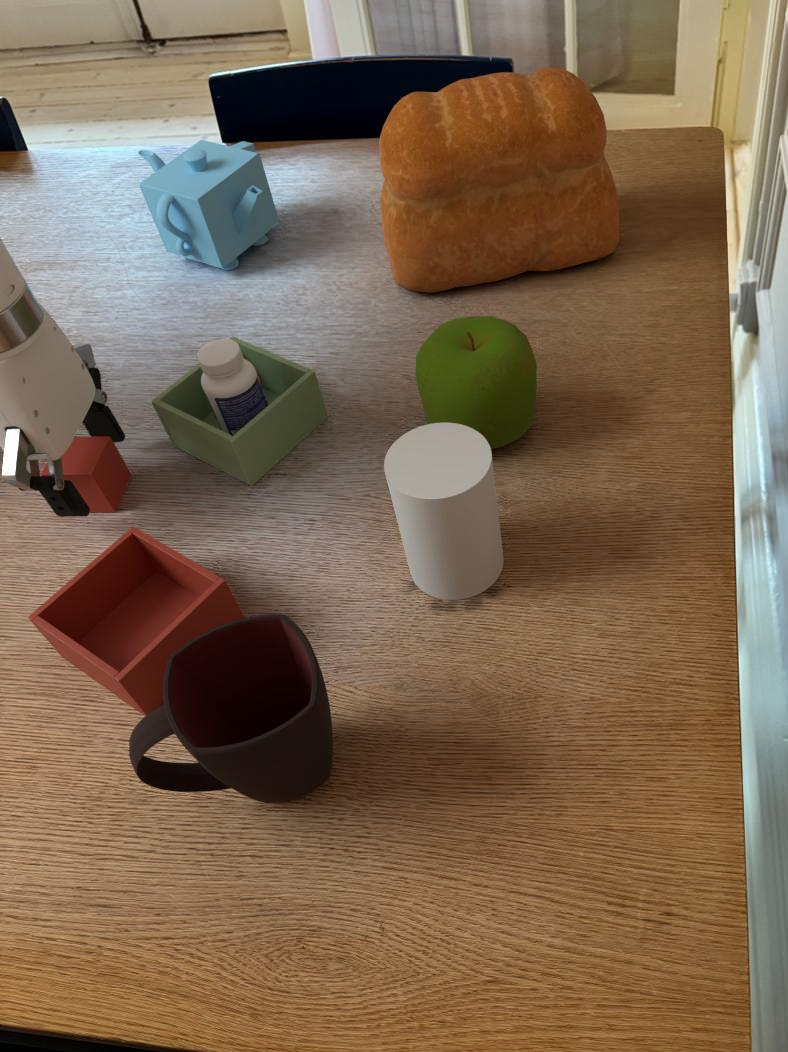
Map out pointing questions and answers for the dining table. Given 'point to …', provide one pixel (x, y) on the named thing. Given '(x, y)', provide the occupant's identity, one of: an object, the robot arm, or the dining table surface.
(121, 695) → the brick bin
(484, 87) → the bread
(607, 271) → the dining table surface
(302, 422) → the sage bin
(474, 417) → the apple
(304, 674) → the mug
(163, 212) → the teapot
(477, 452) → the white solid cylinder
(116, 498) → the red block
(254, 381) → the pill bottle
